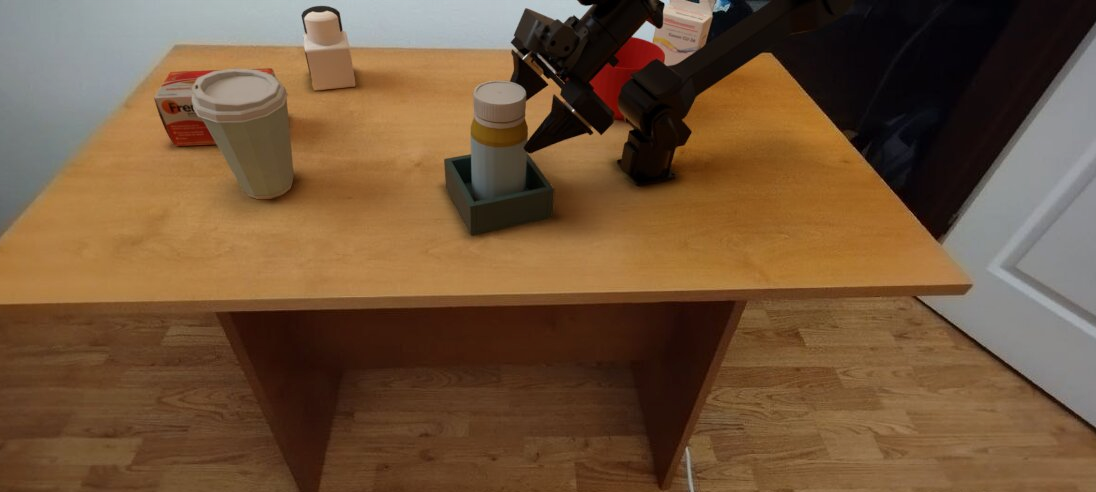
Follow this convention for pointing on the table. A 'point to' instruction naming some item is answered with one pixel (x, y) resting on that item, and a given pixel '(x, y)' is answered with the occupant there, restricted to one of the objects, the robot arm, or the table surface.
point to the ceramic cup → (624, 70)
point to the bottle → (498, 140)
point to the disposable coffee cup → (248, 127)
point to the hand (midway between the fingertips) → (512, 132)
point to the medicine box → (184, 108)
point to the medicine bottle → (327, 49)
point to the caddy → (498, 198)
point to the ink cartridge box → (683, 29)
